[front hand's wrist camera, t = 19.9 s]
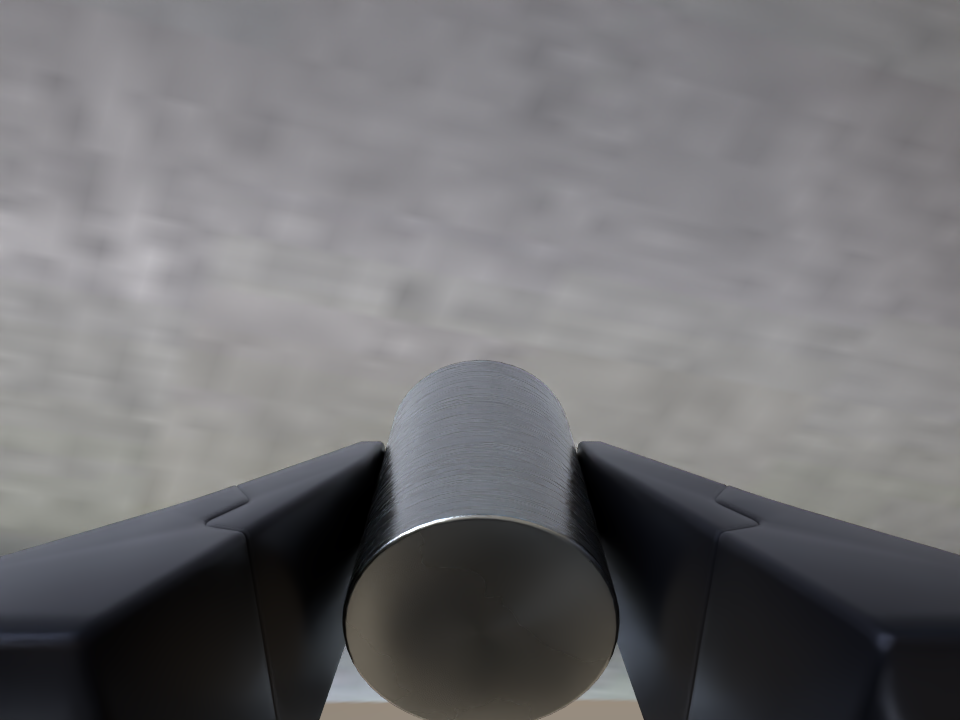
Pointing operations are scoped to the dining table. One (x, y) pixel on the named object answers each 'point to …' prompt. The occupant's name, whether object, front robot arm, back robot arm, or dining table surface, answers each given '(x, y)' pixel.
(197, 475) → the dining table surface
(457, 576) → the can
